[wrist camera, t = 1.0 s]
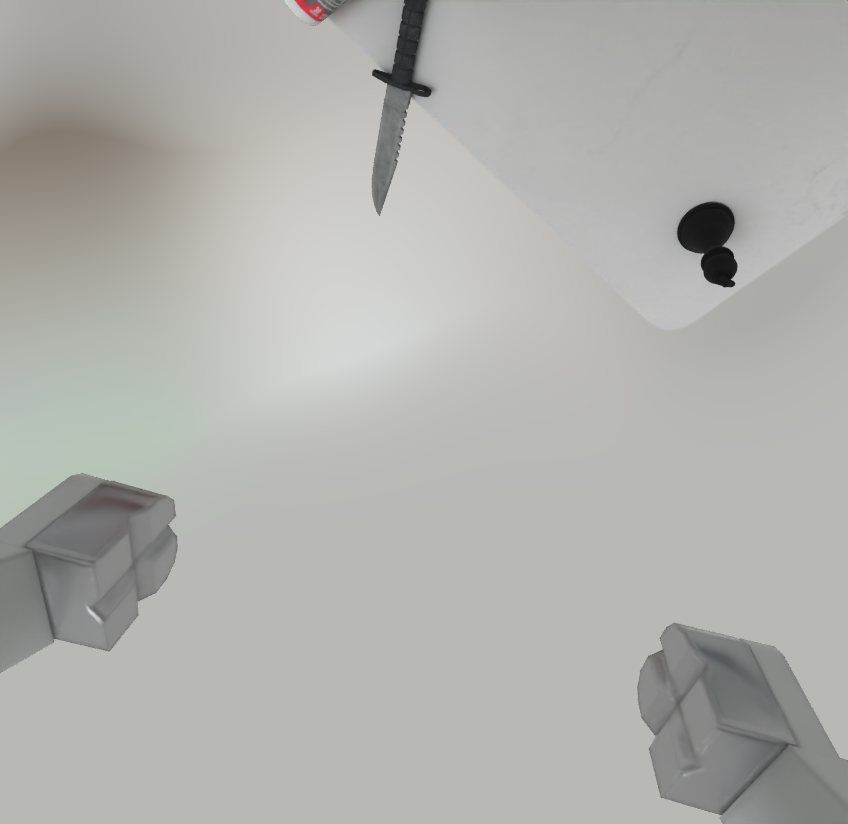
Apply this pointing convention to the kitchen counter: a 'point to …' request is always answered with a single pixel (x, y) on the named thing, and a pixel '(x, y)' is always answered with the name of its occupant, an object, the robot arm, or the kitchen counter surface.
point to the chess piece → (710, 240)
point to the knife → (397, 100)
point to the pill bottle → (313, 9)
